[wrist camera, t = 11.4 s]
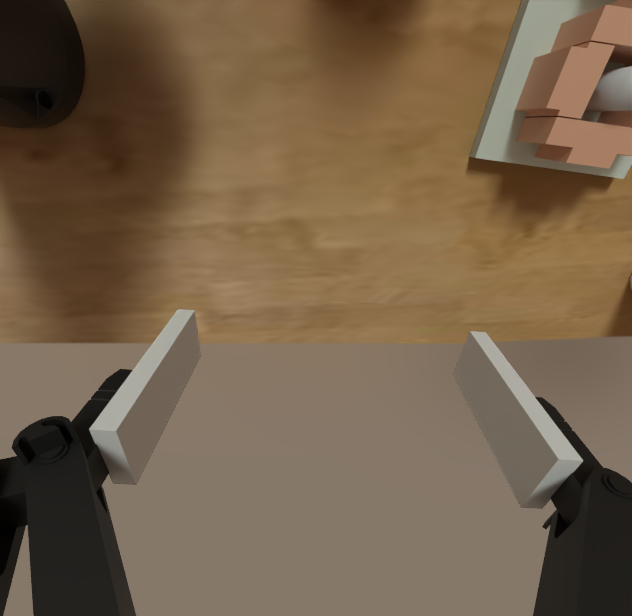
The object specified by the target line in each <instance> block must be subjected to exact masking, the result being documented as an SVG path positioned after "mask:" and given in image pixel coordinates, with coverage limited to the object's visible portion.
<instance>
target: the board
mask: <svg viewBox="0 0 632 616" xmlns="http://www.w3.org/2000/svg"><path fill="white" fill-rule="evenodd" d="M616 1H618V0H522V1H521V4H520V7H519V10H518V13H517V16H516V19H515V22H514V25H513V28H512V31H511V34H510V37H509V40H508V43H507V46H506V49H505V52H504V55H503V58H502V61H501V64H500V67H499V70H498V73H497V76H496V79H495V82H494V85H493V88H492V91H491V94H490V97H489V100H488V103H487V106H486V109H485V112H484V115H483V118H482V121H481V124H480V127H479V130H478V133H477V135H476V138H475V141H474V144H473V147H472V150H471V153H470V156H469V157H473V158H479V159H486V160H493V161H500V162H507V163H514V164H522V165H529V166H536V167H543V168H550V169H557V170H564V171H571V172H578V173H586V174H593V175H600V176H607V177H614V178H621V179H624V177H625V175H626V174H627V172H628V170H629V168H630V167H631V165H632V156H625V155H616V157H615V159H614V161H613V163H612V165H611V166H610V168H601V167H594V166H587V165H580V164H573V163H566V162H560V161H554V160H548V159H542V158H536V157H535V154H536V152H537V149H538V147H539V145H540V144H535V143H528V142H521V141H516V139H517V136H518V134H519V131H520V128H521V126H522V123H523V121H524V118H532V117H525V116H526V113H527V112H526V111H519V110H515V109H516V106H517V103H518V100H519V98H520V95H521V92H522V90H523V87H524V84H525V82H526V79H527V76H528V74H529V71H530V68H531V66H532V63H533V60H534V58H535V57H538V56H542V55H545V54H548V53H550V52H551V49H552V47H553V44H554V41H555V39H556V36H557V34H558V31H559V29H560V26H561V24H562V23H563V22H566V21H568V20H570V19H573V18H575V17H578V16H580V15H582V14H585V13H587V12H589V11H592V10H594V9H597V8H599V7H601V6H604V5H608V4H611V3H613V2H616ZM625 65H628V64H621V63H615V62H607V64H606V66H605V68H604V71H603V73H602V75H601V77H600V79H599V81H598V83H597V86H596V88H595V90H594V92H593V94H592V96H591V98H590V100H589V103H588V105H587V107H586V109H585V111H584V113H583V115H582V118H581V119H575V120H582V121H589V122H597V120H598V118H599V116H600V114H601V112H603V111H628V110H632V66H630V67H625V68H624V66H625Z"/></svg>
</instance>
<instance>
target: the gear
mask: <svg viewBox="0 0 632 616" xmlns="http://www.w3.org/2000/svg"><path fill="white" fill-rule="evenodd" d="M607 62H615V63H621V64H628V65H625V66H624V68H625V67H630V66H632V0H618V1H616V2H613V3H611V4H608V5H604V6H601V7H599V8H597V9H594V10H592V11H589V12H587V13H585V14H582V15H580V16H578V17H575V18H573V19H570V20H568V21H566V22H563V23H562V24H561V26H560V29H559V31H558V34H557V36H556V39H555V41H554V44H553V47H552V49H551V52H550V53H548V54H545V55H542V56H538V57H535V58H534V60H533V63H532V66H531V68H530V71H529V74H528V76H527V79H526V82H525V84H524V87H523V90H522V92H521V95H520V98H519V100H518V103H517V106H516V109H515V110H519V111H526V112H527V113H526V116H525V117H532V118H524V121H523V123H522V126H521V128H520V131H519V134H518V136H517V139H516V141H521V142H528V143H535V144H540V145H539V147H538V149H537V152H536V154H535V157H536V158H542V159H548V160H554V161H560V162H566V163H573V164H580V165H587V166H594V167H601V168H610V166H611V165H612V163H613V161H614V159H615V157H616V155H625V156H632V110H628V111H603V112H601V114H600V116H599V118H598V120H597V122H589V121H582V120H575V119H581V118H582V115H583V113H584V111H585V109H586V107H587V105H588V103H589V100H590V98H591V96H592V94H593V92H594V90H595V88H596V86H597V83H598V81H599V79H600V77H601V75H602V73H603V71H604V68H605V66H606V64H607Z"/></svg>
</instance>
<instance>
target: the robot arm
mask: <svg viewBox="0 0 632 616" xmlns="http://www.w3.org/2000/svg"><path fill="white" fill-rule="evenodd" d="M83 79H84V61H83V53H82V47H81V43H80V39H79V35H78V32H77V29H76V26H75V23H74V21H73V18H72V16H71V13H70V11H69V9H68V7H67V5H66V3H65V1H64V0H0V125H1V126H6V127H11V128H43V127H48V126H52V125H54V124H57V123H59V122H60V121H62V120H63V119H65V118H66V117H67V116H68V115H69V114H70V113H71V112H72V110H73V109H74V107H75V106H76V104H77V102H78V100H79V97H80V94H81V91H82V86H83ZM200 357H201V353H200V346H199V339H198V331H197V324H196V317H195V310H182V309H178V310H177V311H176V313H175V314H174V315H173V317H172V318H171V319H170V321H169V322H168V323H167V325H166V326H165V327H164V329H163V330H162V332H161V333H160V334H159V336H158V337H157V338H156V340H155V341H154V342H153V344H152V345H151V346H150V348H149V349H148V350H147V352H146V353H145V355H144V356H143V357H142V358H141V360H140V361H139V363H138V364H137V365H136V367H135V368H134V369H133V370H126V369H120V370H118V371H117V372H116V373H114V374H113V375H111V376H110V377H108V378H107V379H106V380H105V382H104V383H103V384H102V385H101V386H100V388H99V389H98V391H96V393H95V394H94V395H93V396H92V397H91V400H89V401H88V402H87V404H86V405H85V406H84V407H83V408H82V410H81V411H80V412H79V413H78V415H77V416H76V417H75V418H74V419H73V421H72V422H70V420H69V419H68V418H65V417H63V416H52V417H48V418H44V419H41V420H39V421H37V422H35V423H33V424H31V425H29V426H28V427H26V428H25V429H24V430H22V431H21V432H20V433H19V434H18V436H17V437H16V438H15V439H14V442H13V445H12V449H13V450H14V452H15V453H16V455H17V456H16V457H11V458H6V459H1V460H0V616H3V613H4V610H5V606H6V602H7V598H8V594H9V590H10V586H11V582H12V578H13V574H14V570H15V566H16V562H17V558H18V555H19V550H20V546H21V543H22V539H23V535H24V531H25V527H26V525H28V536H29V551H30V566H31V583H32V598H33V613H34V616H136V614H135V610H134V606H133V602H132V598H131V594H130V591H129V587H128V583H127V579H126V575H125V571H124V567H123V563H122V559H121V556H120V552H119V548H118V544H117V540H116V536H115V532H114V528H113V524H112V521H111V517H110V513H109V509H108V505H107V501H106V497H105V494H104V490H103V488H102V484H103V482H104V480H105V479H106V477H107V475H108V474H109V475H110V478H111V480H112V482H113V483H114V484H115V483H116V484H132V485H136V484H137V482H138V480H139V478H140V476H141V474H142V472H143V470H144V468H145V466H146V464H147V462H148V460H149V458H150V456H151V454H152V453H153V450H154V448H155V446H156V445H157V442H158V440H159V439H160V437H161V435H162V433H163V431H164V429H165V427H166V425H167V423H168V420H169V418H170V417H171V415H172V413H173V411H174V408H175V407H176V405H177V403H178V401H179V399H180V397H181V395H182V392H183V391H184V389H185V387H186V385H187V383H188V381H189V379H190V377H191V375H192V373H193V371H194V369H195V367H196V365H197V363H198V361H199V359H200ZM453 376H454V378H455V380H456V382H457V384H458V385H459V387H460V389H461V391H462V393H463V395H464V397H465V399H466V401H467V403H468V405H469V407H470V409H471V411H472V413H473V415H474V417H475V419H476V421H477V423H478V425H479V427H480V429H481V431H482V432H483V434H484V436H485V438H486V440H487V442H488V444H489V446H490V448H491V450H492V452H493V454H494V456H495V458H496V460H497V462H498V464H499V466H500V468H501V470H502V472H503V474H504V476H505V478H506V480H507V482H508V484H509V485H510V487H511V489H512V491H513V493H514V495H515V497H516V499H517V501H518V503H519V505H520V507H522V508H539V509H540V508H541V509H542V508H543V507H544V506H545V505H546V504H547V503H548V501H549V500H550V499H551V500H552V502H553V504H554V505H555V507H556V508H557V510H556V511H555V512H554V513H553V514H552V515H551V516H550V517H549V518H548V520H547V521H546V522H545V523H544V525H543V528H545V529H547V528H548V526H549V525H551V526H550V531H549V536H548V541H547V547H546V552H545V557H544V562H543V567H542V573H541V577H540V582H539V588H538V593H537V598H536V603H535V608H534V613H533V616H632V483H631V482H630V481H629V480H628V479H626V478H625V477H623V476H622V475H620V474H618V473H617V472H615V471H612V470H610V469H607V468H603V467H602V466H601V465H600V463H599V462H598V461H597V459H596V458H595V457H594V456H593V454H592V453H591V452H590V451H589V449H588V448H587V447H586V446H585V444H584V443H583V442H582V441H581V440H580V438H579V437H578V436H577V435H576V433H575V432H574V431H572V428H571V427H570V426H569V425H568V423H567V422H565V421H564V418H563V417H562V416H561V415H560V413H559V412H558V411H557V410H556V408H555V407H553V406H552V405H551V404H550V403H548V402H547V401H546V400H545V399H543V398H540V397H534V395H533V394H532V393H531V391H530V390H529V389H528V387H527V386H526V385H525V383H524V382H523V381H522V379H521V378H520V377H519V376H518V374H517V373H516V372H515V370H514V369H513V368H512V366H511V365H510V364H509V362H508V361H507V360H506V359H505V357H504V356H503V354H502V353H501V352H500V351H499V349H498V348H497V347H496V345H495V344H494V343H493V341H492V340H491V339H490V337H489V336H488V335H487V333H486V332H474V331H470V332H469V335H468V337H467V340H466V342H465V345H464V347H463V350H462V352H461V355H460V357H459V359H458V362H457V364H456V367H455V369H454V372H453Z"/></svg>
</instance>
